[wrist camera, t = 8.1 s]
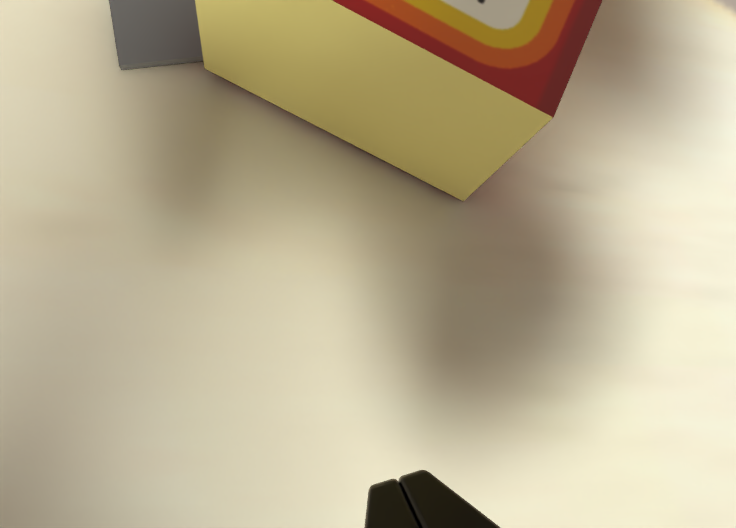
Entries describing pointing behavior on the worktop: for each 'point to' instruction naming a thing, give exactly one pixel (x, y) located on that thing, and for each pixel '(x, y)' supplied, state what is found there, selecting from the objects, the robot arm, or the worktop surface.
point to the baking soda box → (406, 73)
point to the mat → (155, 32)
